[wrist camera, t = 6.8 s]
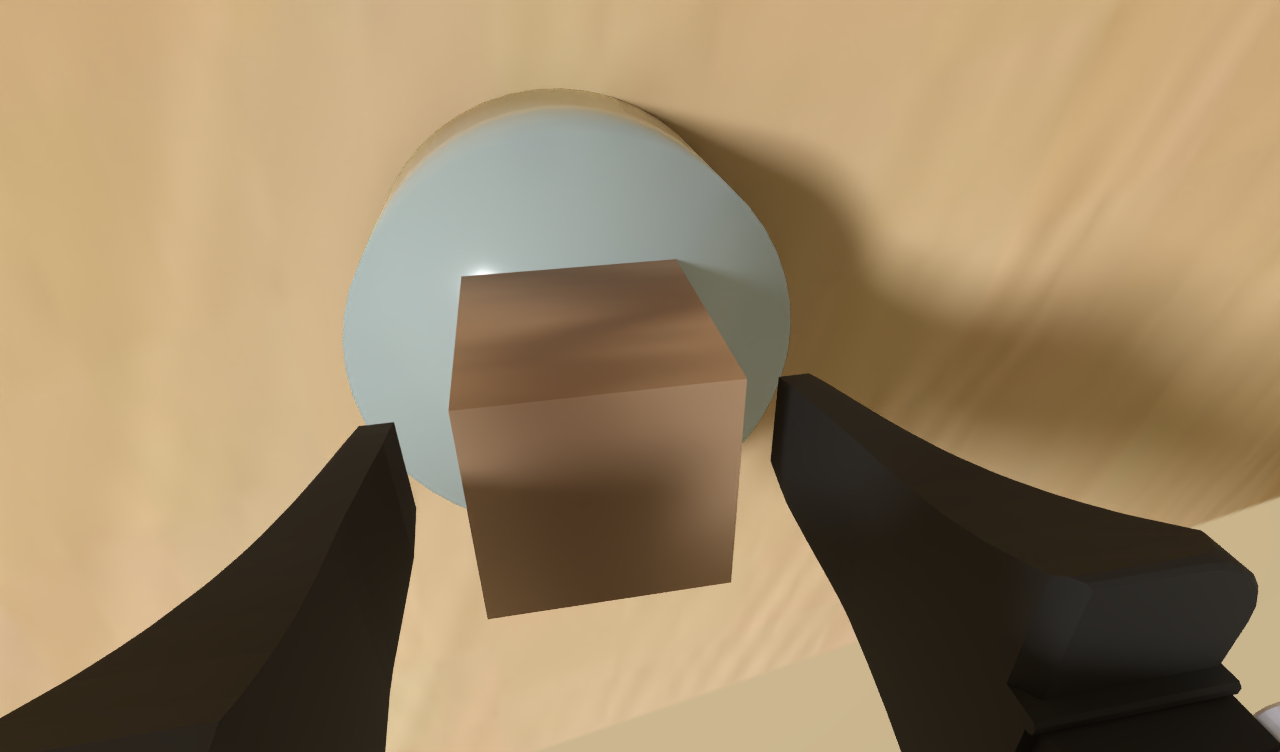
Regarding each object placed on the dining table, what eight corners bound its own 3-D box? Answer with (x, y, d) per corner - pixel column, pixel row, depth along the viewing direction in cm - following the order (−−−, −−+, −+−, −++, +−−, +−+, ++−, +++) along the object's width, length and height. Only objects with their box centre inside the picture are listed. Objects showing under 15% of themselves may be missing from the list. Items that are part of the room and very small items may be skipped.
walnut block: (675, 258, 15) (746, 378, 11) (673, 428, 17) (730, 582, 13) (461, 276, 14) (448, 411, 10) (488, 450, 17) (487, 618, 12)
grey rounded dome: (751, 92, 18) (827, 134, 14) (711, 409, 23) (758, 509, 19) (348, 81, 17) (299, 126, 12) (401, 426, 22) (378, 541, 17)
